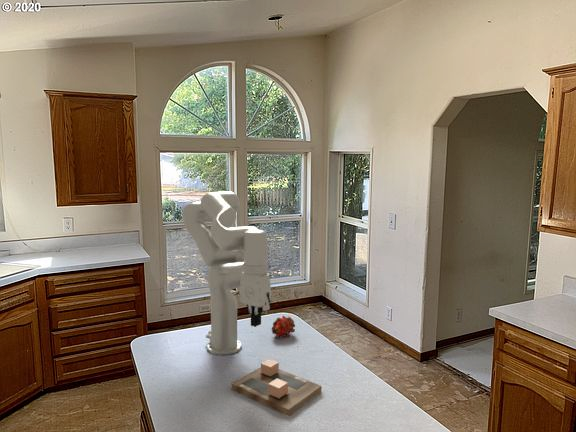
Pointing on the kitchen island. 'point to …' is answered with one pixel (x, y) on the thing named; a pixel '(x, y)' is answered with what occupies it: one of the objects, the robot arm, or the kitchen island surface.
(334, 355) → the kitchen island surface
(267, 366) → the tab
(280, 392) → the tab
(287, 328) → the dragon fruit
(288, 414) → the switch board
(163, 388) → the kitchen island surface
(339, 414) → the kitchen island surface
